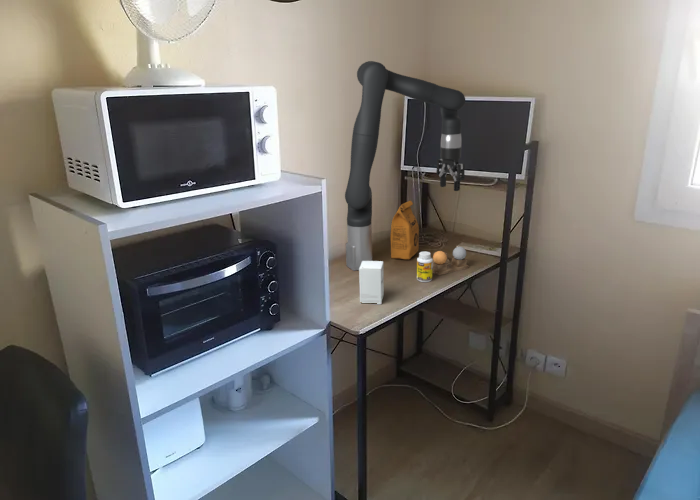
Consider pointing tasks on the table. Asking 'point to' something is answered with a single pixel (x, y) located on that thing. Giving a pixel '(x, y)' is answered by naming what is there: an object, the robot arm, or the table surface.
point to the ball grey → (459, 253)
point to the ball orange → (439, 257)
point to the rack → (449, 266)
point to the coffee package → (404, 233)
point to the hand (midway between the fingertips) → (449, 188)
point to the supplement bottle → (424, 267)
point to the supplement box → (371, 282)
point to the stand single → (446, 259)
